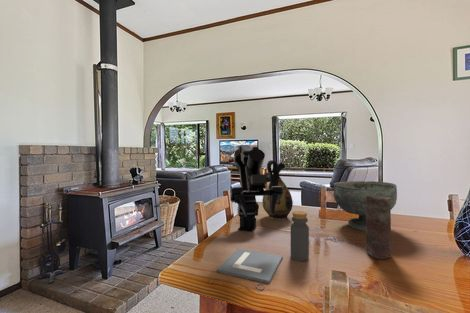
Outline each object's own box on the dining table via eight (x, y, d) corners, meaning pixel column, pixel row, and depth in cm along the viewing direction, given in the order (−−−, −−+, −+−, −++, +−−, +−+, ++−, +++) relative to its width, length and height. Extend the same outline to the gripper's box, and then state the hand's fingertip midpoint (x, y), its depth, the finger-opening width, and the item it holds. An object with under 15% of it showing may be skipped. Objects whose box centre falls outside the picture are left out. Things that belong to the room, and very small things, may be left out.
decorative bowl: (408, 239, 93) (406, 187, 93) (336, 233, 101) (335, 186, 102) (388, 222, 118) (388, 181, 118) (332, 218, 126) (331, 180, 127)
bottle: (309, 254, 82) (309, 210, 81) (308, 262, 76) (308, 215, 76) (291, 252, 84) (291, 209, 83) (289, 259, 78) (289, 214, 78)
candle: (360, 250, 85) (361, 193, 84) (380, 249, 86) (381, 193, 85) (375, 260, 77) (376, 198, 77) (396, 259, 78) (397, 197, 77)
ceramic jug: (274, 212, 136) (274, 159, 135) (298, 217, 125) (298, 159, 124) (254, 218, 125) (253, 160, 124) (278, 225, 113) (278, 161, 112)
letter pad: (216, 271, 71) (216, 268, 71) (237, 250, 86) (237, 248, 86) (269, 283, 65) (269, 280, 65) (282, 258, 79) (282, 255, 79)
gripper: (231, 165, 84) (234, 206, 75) (282, 164, 87) (292, 203, 77) (228, 181, 93) (232, 220, 84) (276, 180, 95) (284, 218, 86)
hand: (259, 215), depth 82 cm, fingers open, 9 cm apart
